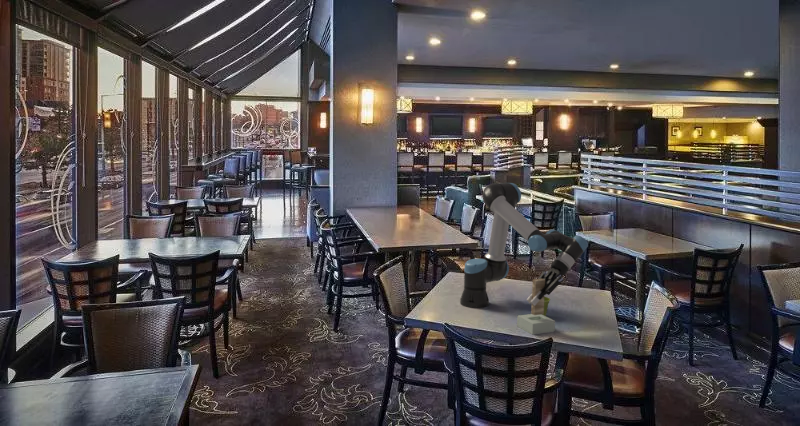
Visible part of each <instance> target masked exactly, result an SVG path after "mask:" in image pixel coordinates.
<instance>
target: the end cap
mask: <svg viewBox="0 0 800 426" xmlns="http://www.w3.org/2000/svg"><path fill="white" fill-rule="evenodd" d="M516 318H517V319H516V326H517V328H520V329H521V330H523V331H525V332H527V333H529V334H531V335H538V334H546V333H547V334H548V333H554V332H556V331H555V329H556V320H554V319H552V318H551V317H548V316H547V315H546V316H544V315H542V314H540V315H533V314H531V313H530V314H529V313H528V314H519V315H517V317H516Z"/></svg>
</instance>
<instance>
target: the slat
mask: <svg viewBox="0 0 800 426" xmlns="http://www.w3.org/2000/svg"><path fill="white" fill-rule="evenodd" d="M544 286H545V280H544V279H538V278H535V279H532V286H531V287H532V288H531V293H532V299H533V298H534V297H535V296H536V295H537V293H538V292H539V291H541V290H542V289H543V288H544ZM544 297H545V295H544V296H543V297H542V299H541V300H539V302H538V303H537V304H536V305H535V306H534V305H533V304H532V303H531V308H530V310H531V311H530V314H533V315H540V314H544Z"/></svg>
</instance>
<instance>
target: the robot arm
mask: <svg viewBox="0 0 800 426" xmlns="http://www.w3.org/2000/svg"><path fill="white" fill-rule="evenodd" d="M481 196H482V200H483V203H484V205H485V206H486V207H487V208H488V209H489V210H490V211H491V212H493V213H494V214H493V219H492V226H491V230H490V231H491V233H490V237H489V238H490V239H489V245H488V251H487V253H486V254H484V256H483V257H484V258H471V259H468V260H467V261H466V262H465V263H464V275H463V276H464V278H463V279H464V280H463V291H462V292H461V297H460V299H459V304H461V305H462V306H463V307H464V306H465V307H468V308H477V309H478V308H479V309H481V308H486V307H489V305H490V299H489V296H488V292H487V283H491V282H497V281H498V282H499V281H501V280H503V279H505V278H507V276H508V274H509V272H510V271H509V270H510V266H509V262H508V261H507V257H506V256H505V252H506V251H505V250H506V245H507V239H508V233H509V227H510V226H511V227H512V229H514V230H515V231H516V232H517V233H518V234H519V235H520V236H522V238H524V239H525V240H526V241H527V246H528V248H529V249H530V250H531V251H532V252H543V251H544V252H545V251H548V250H549V251H550V250H556V249H557V250H559V251H561V252H560V253H559V255H558V256H557V257H556V258H555V259H554V260H553V262H552V263H550V268H549V269H548V270H547V271H545V270H542V271H541V274H540V276H539V277H538V278H537V279H544V280H545V286H544V288H543V289H542V290H541V291H539V292H538V293H537V295H536V296H535V297H534V298H533V299H532V292H531V293H530V295H528V297H527V298H526V301H527V302H528V303H529V304H531V305H532V304H533V305H534V306H535V305H536V304H537V303H538V302H539V300H541V299H542V297H543V296H544V297H545V296H546V295H548V296H549V295H550V294H551V293H552V292H553V291H554V290H555V289H556V288H557V287H558V286H559V285H560V284H561V283H563V282H564V281H565V280H564V278H563V276H566V274H567V273H568V272H569V269H571V268H572V267H573V265H574V264H575V263H576V262H577V260H578V259H580V257H581V256H582V254H584V253H585V251H586V249H588V247H589V244H588V241H587V240H586V239H585V238H584V237H583V236H581V235H578V234H577V235H575V236H574V237H573V236H572V237H570V236H567V235H566V234H564V233H562V232H560V231H559V230H555V229H548V230H547V231H546V233H543V232H542V231H541V230H540V229H539V228H538V227H536V226H535V225H534V224H533V223H532V222H531V221H530V220H528V219H527V218H526V217H525V216H524V215H523V214H521V212H519V211H518V210H517V209H516V205H518V204H519V203H520V202H521V200H522V192H521V188H519V186H518V185H517V184H516V183H513V182H498V183H497V182H496V183H495V182H494V183H490V184H488V185H486V186H485V188H484V189H483V191H482V195H481Z"/></svg>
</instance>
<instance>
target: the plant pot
mask: <svg viewBox="0 0 800 426" xmlns="http://www.w3.org/2000/svg"><path fill="white" fill-rule="evenodd" d="M550 301H551V298H550V297H548V296H544V314H542V315H544V316H546V317H547V311H548V307H549V303H550Z"/></svg>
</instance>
